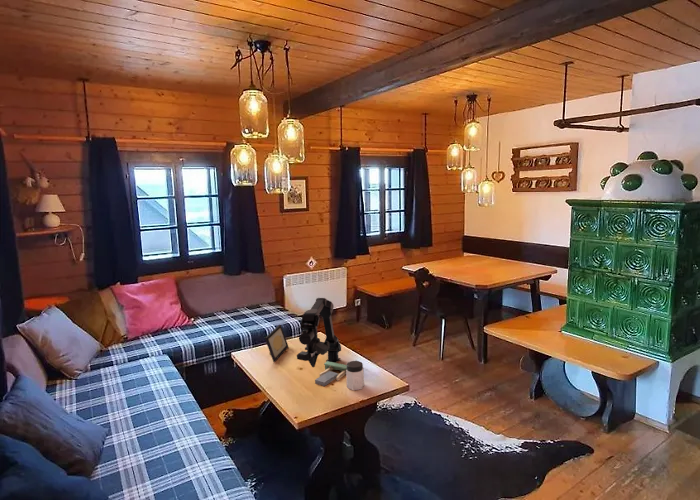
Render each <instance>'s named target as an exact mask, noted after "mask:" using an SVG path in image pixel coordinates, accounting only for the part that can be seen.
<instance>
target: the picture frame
mask: <svg viewBox="0 0 700 500" xmlns="http://www.w3.org/2000/svg"><path fill="white" fill-rule="evenodd" d="M264 341H265V343H266V345H267V348H268V352H269V355H270V356H271V360H272V362H273V363H275V362H276V361H277V360H278V359H279V358H280V357H281V356H282V354H283V353H284V352H285V351H286V350H287V349H288V348H289V344H288V342H287V339H286V336H285V333H284V331H283V328H282V325H281V324H279V325H277V326H276V327H275V328H274V329H272V331H270V333H268V334H267V335H266V336H265V337H264Z"/></svg>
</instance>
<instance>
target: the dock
mask: <svg viewBox="0 0 700 500" xmlns="http://www.w3.org/2000/svg"><path fill="white" fill-rule="evenodd" d="M323 365H324V371H322V372H319V377H320V376H322V375H324V374H325V373H327V372H329V371H331V372H333V370H337V371H340V373H338V376H337V377H336V379H335V380H336V381H337V382H339V381H340V379H342V377H343V376H345V375H346V370H347V364H344V363H339V362H336V363H334V362H329V361H327V362H326V361H325V362H324V364H323Z"/></svg>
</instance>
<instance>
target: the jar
mask: <svg viewBox="0 0 700 500" xmlns="http://www.w3.org/2000/svg"><path fill="white" fill-rule="evenodd" d="M346 365H347V370H346V374H345V375H346V376H345V378H346V379H345V380H346V388H347V389H349V390H351V391H358V390H362V389H363V388H364V386H365V379H364V378H365V375H364V365H363V363H362V361H359V360H351V361H348V362H346Z"/></svg>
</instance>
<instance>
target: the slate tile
mask: <svg viewBox="0 0 700 500" xmlns="http://www.w3.org/2000/svg"><path fill="white" fill-rule="evenodd" d="M338 374H339V373H337V372H334V371H329V372H327V373H325V374H324V375H322V376H320V375H319V376H318V377H317V378H316V379H314V384H316V385H318V386H322V387H326V386H327V385H329V384H330V383H332V382H333V381H335V380H336V377H337V376H338Z"/></svg>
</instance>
